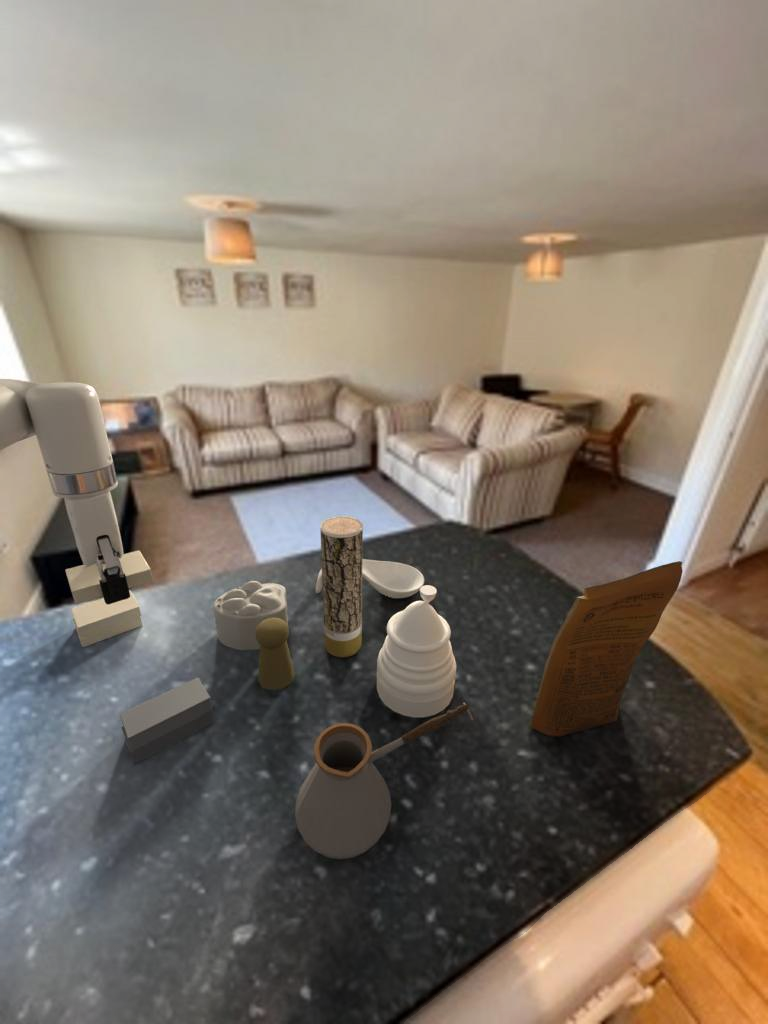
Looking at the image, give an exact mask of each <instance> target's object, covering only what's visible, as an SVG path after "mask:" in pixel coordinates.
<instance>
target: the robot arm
mask: <svg viewBox="0 0 768 1024" xmlns="http://www.w3.org/2000/svg"><path fill="white" fill-rule="evenodd" d="M34 436H36V439H37V440H36V441H37V442H38V446H39V449H40V452H41V453H40V454H41V455H42V456H41V457H42V459H43V464H44V467H45V469H46V473H47V476H48V480H49V483H50V486H51V490H52V494H53V495H54V496H55V497H57V498H60V499H64V505H65V509H66V512H67V513H66V514H67V516H68V520H69V523H70V526H71V530H72V534H73V537H74V541H75V545H76V547H77V550H78V553H79V556H80V559H81V561H82V565H86V566H90V565H92V564H95V563H96V564H97V568H98V571H99V574H100V577H101V580H99V582H100V586H101V590H102V593H103V597H102V598H104V601H105V603H106V604H107V605H108V604H112V603H115V602H118V601H121V600H125V599H128V598H129V597H130V593H129V590H130V588H128V584H127V580H126V576H125V573H123V570H122V567H121V563H120V560H119V558H121V557H122V556H123V554H125V553H124V547H123V542H122V536H121V531H120V526H119V522H118V517H117V513H116V509H115V505H114V502H113V497H112V493H111V492H112V491H114V490H115V489H116V488H117V487H118V486H119V482H118V477H117V473H116V469H115V463H114V460H113V456H112V451H111V446H110V442H109V438H108V433H107V429H106V425H105V419H104V415H103V411H102V406H101V402H100V398H99V394H98V393H97V391H96V390H95V388H94V387H93V386H91V385H89V384H87V383H83V382H75V381H74V382H73V381H59V382H47V383H43V382H32V381H27V380H21V379H12V378H0V451H2V450H4V449H6V448H8V447H10V446H12V445H13V444H15V443H17V442H21V441H24V440H27V439H29V438H31V437H34ZM103 563H105V566H106V569H104V571H103V568H102V564H103Z"/></svg>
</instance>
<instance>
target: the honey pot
mask: <svg viewBox="0 0 768 1024" xmlns="http://www.w3.org/2000/svg"><path fill="white" fill-rule="evenodd" d="M437 591H438V590H437V587H435V586H433V585H429V584H424V585H423V586H422V587H421V588H420V590H419V594H420V598H421V599H422V600H416V601H413V602H411V603H410V604H409V605H407V606H406V607H405V609H403V610H400V611H398V612H396V613H394V614H393V615H392V616H391V617H390V619H389V620H388V622H387V625H386V634H387V635H386V636H385V639H384V641H383V645H382V647H381V648H380V650H379V652H378V656H377V659H376V663H377V664H376V692H377V694H378V697H379V699H380V700H381V701H382V703H383V704H384V706H386V707H387V708H389V709H390V710H392V711H393V712H394V713H397V714H400V715H401V716H405V717H409V718H427V717H431V716H435V715H437V714H439V713H441V712H443V711H444V710H445V709H446V708H447V707H449V705H450V704H451V701H452V699H453V697H454V691H455V684H456V683H455V682H456V676H457V675H456V673H457V662H456V661H457V660H456V658H455V655H454V652H453V648H452V643H451V641H450V639H451V635H452V631H451V627H450V625H449V623H448V622H447V620H446V619H445V618H444V617H443V616H442V615H440V614H438V612H437V611H436V610H435V609H434V607H433V606H432V605H431V604H430V603H431V601H433V600H434V599H435V597H436V595H437Z"/></svg>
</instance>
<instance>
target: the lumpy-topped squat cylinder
mask: <svg viewBox="0 0 768 1024" xmlns="http://www.w3.org/2000/svg"><path fill="white" fill-rule="evenodd" d="M287 601H288V600H287V589H286V587H284V585H281V584H279V583H272V582H271V583H260V582H259V581H256V580H251V581H247V582H246V583H244V584H243V585H242V586H238V587H236V588H234V589H231V590H229V591H226V592H225V593H223V594H222V595H220V596H219V597H218V598H216V599H215V601H214V602H213V607H212V608H213V614H214V620H215V627H216V632H217V633H216V634H217V639H218V641H219V642H220V643H221V644H222V645H224V646H225V647H228V648H231V649H234V650H239V651H254V650H260V645H259V643H258V642H257V640H256V633H255V632H256V629H257V626H258V625H259V624H260V623H261V622H262V621H263V620H265V619H268V618H280V619H282V620H284V621H285V622H286V624H287V625H288V626H289V615H288V602H287ZM289 635H290V634H289ZM289 635H288V637H289Z"/></svg>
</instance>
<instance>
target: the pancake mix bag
mask: <svg viewBox="0 0 768 1024" xmlns="http://www.w3.org/2000/svg"><path fill="white" fill-rule="evenodd" d="M683 572H684V571H683V561H679V560H678V561H673V562H669V563H666V564H662V565H659V566H655V567H652V568H649V569H645V570H643V571H640V572H638V573H634V574H633V575H630V576H627V577H624V578H620V579H617V580H613V581H609V582H606V583H603V584H597V585H592V586H589V587H584V591H583V595H581V596H580V595H579V596H576V597H575V599H574V601H573V604H572V605H571V607H570V609H569V611H568V613H567V614H566V617H565V619H564V621H563V623H562V624H561V626H560V627H559V629H558V632H557V633H556V635H555V637H554V640H553V642H552V644H551V646H550V650H549V653H548V656H547V659H546V662H545V664H544V669H543V674H542V676H541V677H542V678H541V683H540V686H539V690H538V693H537V696H536V701H535V705H534V712H533V715H532V718H531V721H530V722H529V725H528V727H529V728H531V729H533V730H536V731H537V732H540V733H542V734H543V735H546V736H548V737H549V736H550V737H557V738H558V737H559V738H560V737H563V736H564V737H565V736H568V735H571V734H575V733H579V732H584V731H585V730H586V729H587V730H590V729H593V728H596V727H597V728H598V727H600V725H601V726H606V725H610V724H613V723H612V722H614V723H616V721H617V719H618V717H619V714H620V713H619V712H620V707H621V702H622V699H623V696H624V693H625V690H626V687H627V684H628V681H629V679H630V676H631V674H632V671H633V668H634V665H635V663H636V661H637V658H638V655H639V653H640V651H641V650H642V648H643V647H644V646H645V644H646V643H647V641H648V640H649V639H650V638H651V636H652V635H653V633H654V632H655V630H656V629H657V626H658V625H659V622H660V620H661V617H662V615H663V613H664V611H665V609H666V608H667V606H668V604H669V603H670V601H671V600H672V599H673V597H674V595H675V594H676V592H677V590H678V588H679V585H680V583H681V580H682V576H683ZM609 723H610V724H609ZM605 724H606V725H605Z"/></svg>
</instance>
